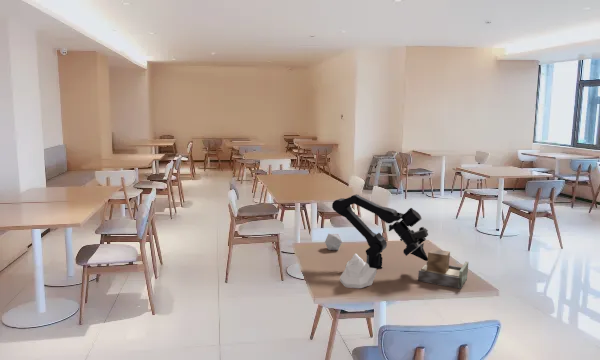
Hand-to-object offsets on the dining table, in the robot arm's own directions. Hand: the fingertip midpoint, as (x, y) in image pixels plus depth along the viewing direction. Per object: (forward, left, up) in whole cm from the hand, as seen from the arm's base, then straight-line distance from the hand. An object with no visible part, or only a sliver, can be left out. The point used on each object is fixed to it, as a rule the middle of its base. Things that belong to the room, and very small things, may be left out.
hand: (427, 260), depth 216 cm
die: (-31, +45, -8) cm, 56 cm away
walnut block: (+4, -3, -3) cm, 6 cm away
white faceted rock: (-34, -7, -8) cm, 36 cm away
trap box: (+6, -5, -7) cm, 10 cm away
